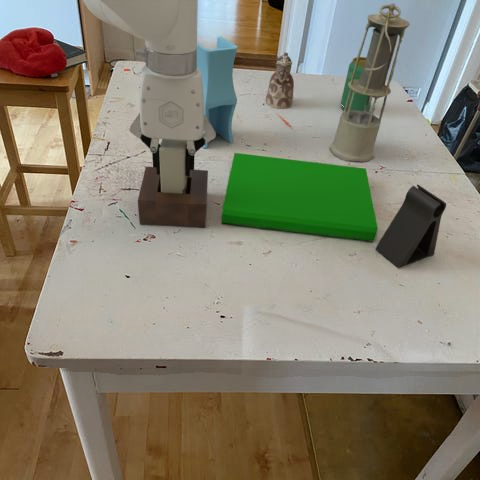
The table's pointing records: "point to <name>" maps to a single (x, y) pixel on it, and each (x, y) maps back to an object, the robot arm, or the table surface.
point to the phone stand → (413, 228)
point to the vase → (218, 86)
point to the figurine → (281, 84)
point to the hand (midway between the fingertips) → (173, 170)
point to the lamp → (370, 87)
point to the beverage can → (358, 99)
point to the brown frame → (173, 201)
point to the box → (173, 166)
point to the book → (299, 197)
